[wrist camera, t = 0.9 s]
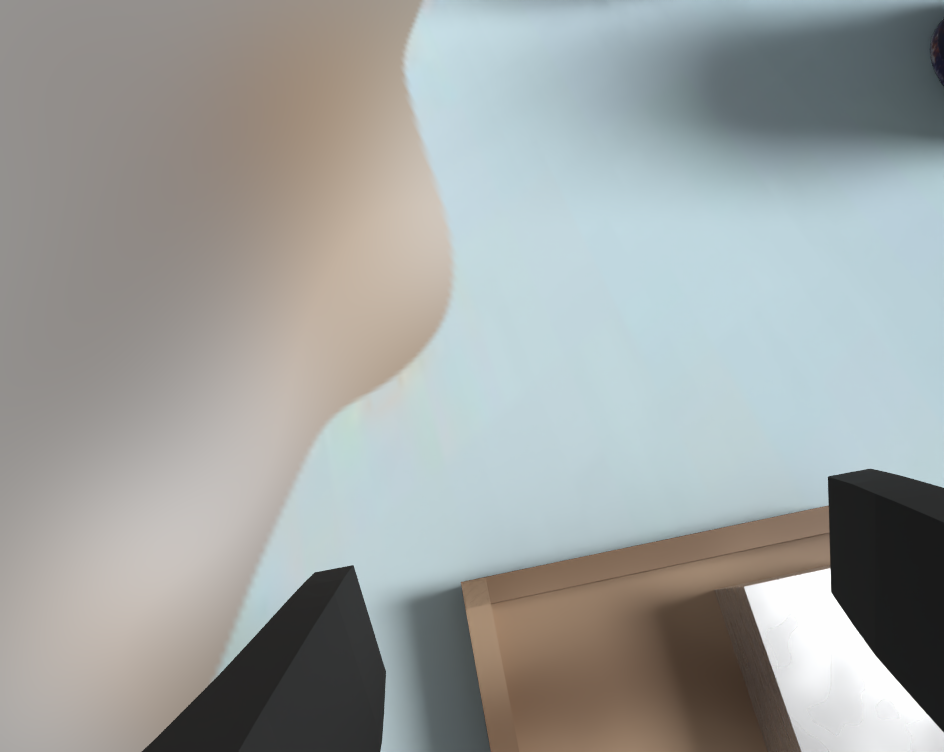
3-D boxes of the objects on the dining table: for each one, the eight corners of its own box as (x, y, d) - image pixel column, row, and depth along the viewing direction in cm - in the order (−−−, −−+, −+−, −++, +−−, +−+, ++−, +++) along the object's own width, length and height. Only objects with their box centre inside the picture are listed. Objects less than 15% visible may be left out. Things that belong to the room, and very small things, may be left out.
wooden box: (984, 821, 18) (1048, 849, 16) (525, 930, 17) (530, 973, 15) (846, 505, 21) (884, 494, 19) (464, 585, 21) (460, 582, 19)
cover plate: (941, 762, 18) (1008, 785, 15) (783, 798, 18) (827, 827, 15) (854, 559, 20) (902, 552, 18) (714, 589, 20) (743, 586, 17)
